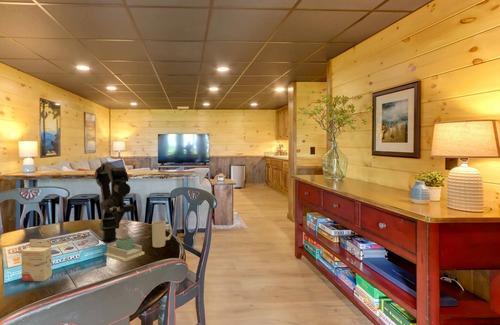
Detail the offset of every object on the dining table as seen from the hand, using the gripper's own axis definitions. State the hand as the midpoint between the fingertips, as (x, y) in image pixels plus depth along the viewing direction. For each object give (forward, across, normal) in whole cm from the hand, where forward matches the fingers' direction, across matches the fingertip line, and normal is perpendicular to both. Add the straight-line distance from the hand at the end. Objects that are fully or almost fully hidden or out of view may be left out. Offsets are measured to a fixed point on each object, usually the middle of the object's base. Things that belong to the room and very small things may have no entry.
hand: (117, 223), depth 152 cm
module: (+10, +11, -5) cm, 16 cm away
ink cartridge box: (+12, +5, -39) cm, 41 cm away
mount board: (+12, +12, -5) cm, 17 cm away
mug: (+12, +16, +14) cm, 25 cm away
